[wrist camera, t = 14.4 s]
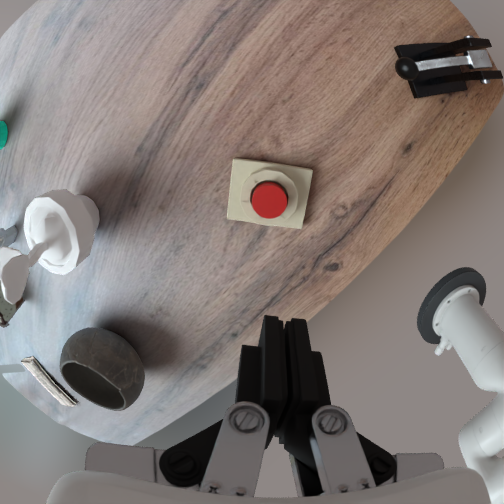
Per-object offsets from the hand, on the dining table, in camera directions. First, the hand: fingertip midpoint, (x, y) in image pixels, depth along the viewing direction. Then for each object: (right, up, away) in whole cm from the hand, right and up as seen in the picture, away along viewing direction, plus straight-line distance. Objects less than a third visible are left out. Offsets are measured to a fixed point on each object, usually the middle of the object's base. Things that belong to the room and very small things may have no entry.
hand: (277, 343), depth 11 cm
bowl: (-30, -16, +39) cm, 52 cm away
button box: (+1, +12, +24) cm, 27 cm away
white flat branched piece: (-50, +8, +28) cm, 58 cm away
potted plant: (-28, +10, +27) cm, 40 cm away
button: (+1, +10, +22) cm, 24 cm away
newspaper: (-69, -39, +52) cm, 95 cm away
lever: (+21, +26, +9) cm, 35 cm away
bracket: (+25, +30, +14) cm, 42 cm away
